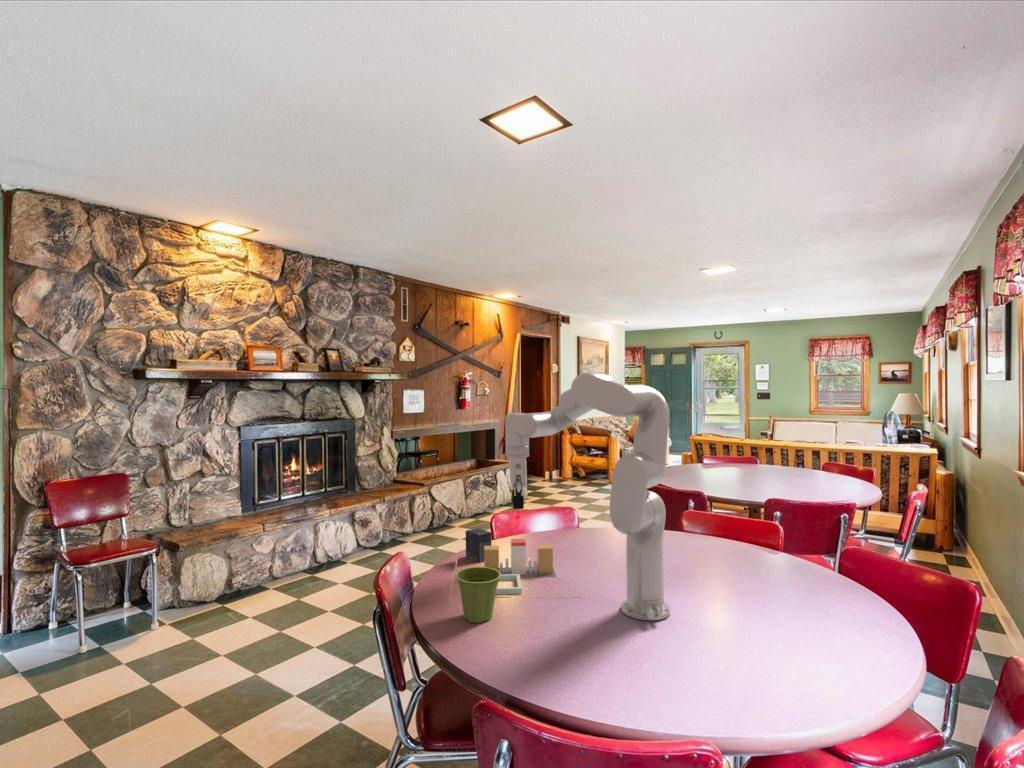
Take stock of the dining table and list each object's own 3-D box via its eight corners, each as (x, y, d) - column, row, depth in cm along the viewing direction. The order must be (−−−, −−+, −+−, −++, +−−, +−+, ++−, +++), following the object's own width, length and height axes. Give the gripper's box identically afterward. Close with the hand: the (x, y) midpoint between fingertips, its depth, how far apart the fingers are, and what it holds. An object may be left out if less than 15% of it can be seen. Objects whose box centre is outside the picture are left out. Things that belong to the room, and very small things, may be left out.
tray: (521, 597, 152) (521, 588, 152) (479, 598, 151) (479, 589, 151) (519, 582, 164) (519, 573, 164) (480, 583, 163) (480, 574, 163)
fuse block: (556, 580, 165) (556, 550, 165) (482, 581, 164) (481, 552, 164) (552, 569, 175) (552, 541, 175) (482, 571, 174) (482, 543, 174)
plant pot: (460, 630, 131) (459, 584, 131) (452, 611, 142) (452, 569, 143) (506, 624, 134) (506, 579, 134) (495, 606, 145) (495, 564, 146)
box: (491, 562, 183) (491, 531, 183) (478, 566, 179) (478, 534, 179) (478, 557, 189) (478, 527, 189) (465, 560, 185) (465, 530, 186)
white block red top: (526, 574, 168) (525, 542, 168) (511, 574, 167) (511, 542, 168) (525, 569, 172) (524, 538, 172) (511, 570, 172) (510, 538, 172)
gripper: (531, 454, 162) (531, 511, 162) (527, 448, 179) (527, 499, 179) (506, 455, 162) (506, 511, 161) (504, 448, 179) (505, 500, 179)
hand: (517, 505), depth 170 cm, fingers open, 9 cm apart
